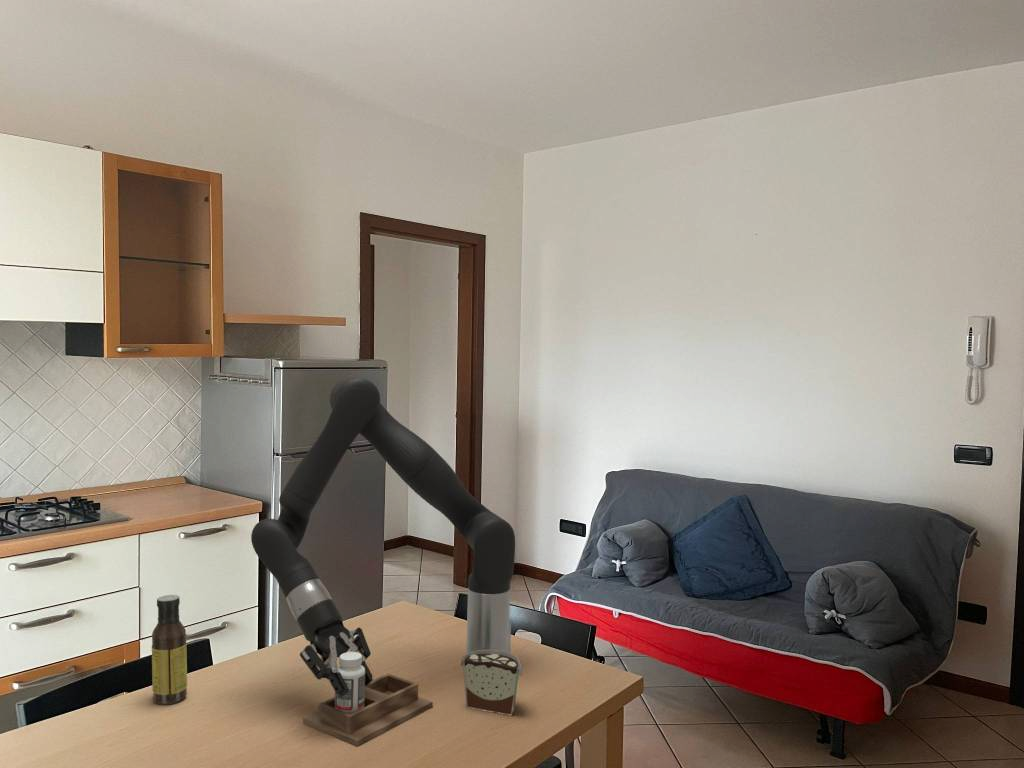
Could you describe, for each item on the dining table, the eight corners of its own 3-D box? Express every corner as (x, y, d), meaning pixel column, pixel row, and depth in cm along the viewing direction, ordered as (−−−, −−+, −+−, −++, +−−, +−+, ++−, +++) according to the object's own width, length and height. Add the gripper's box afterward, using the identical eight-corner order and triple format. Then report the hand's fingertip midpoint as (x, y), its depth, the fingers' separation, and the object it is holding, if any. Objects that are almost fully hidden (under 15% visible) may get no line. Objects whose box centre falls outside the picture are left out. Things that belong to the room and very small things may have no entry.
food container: (529, 704, 158) (530, 654, 158) (519, 717, 152) (521, 665, 152) (471, 694, 162) (472, 645, 162) (459, 706, 156) (460, 655, 156)
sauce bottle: (187, 690, 160) (189, 591, 159) (186, 703, 154) (187, 600, 153) (152, 694, 158) (153, 593, 157) (149, 707, 152) (151, 603, 151)
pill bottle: (355, 699, 151) (357, 648, 151) (369, 710, 147) (371, 657, 146) (329, 706, 148) (330, 654, 147) (342, 717, 143) (344, 663, 143)
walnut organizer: (379, 687, 164) (380, 668, 163) (432, 706, 156) (433, 686, 156) (302, 723, 147) (303, 701, 147) (357, 746, 139) (357, 723, 139)
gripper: (293, 607, 145) (338, 691, 139) (352, 590, 157) (395, 666, 150) (273, 630, 148) (316, 712, 142) (332, 611, 160) (374, 686, 154)
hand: (356, 688), depth 146 cm, fingers closed on pill bottle, 5 cm apart
